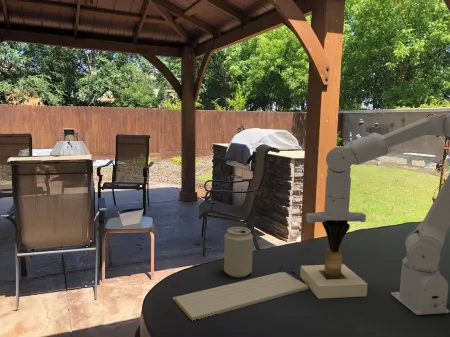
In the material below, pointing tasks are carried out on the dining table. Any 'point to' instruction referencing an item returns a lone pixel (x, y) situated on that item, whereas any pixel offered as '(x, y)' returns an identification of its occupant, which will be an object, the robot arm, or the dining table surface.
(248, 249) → the can
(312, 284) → the socket board
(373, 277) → the dining table surface
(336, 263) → the oak peg
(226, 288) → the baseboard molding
